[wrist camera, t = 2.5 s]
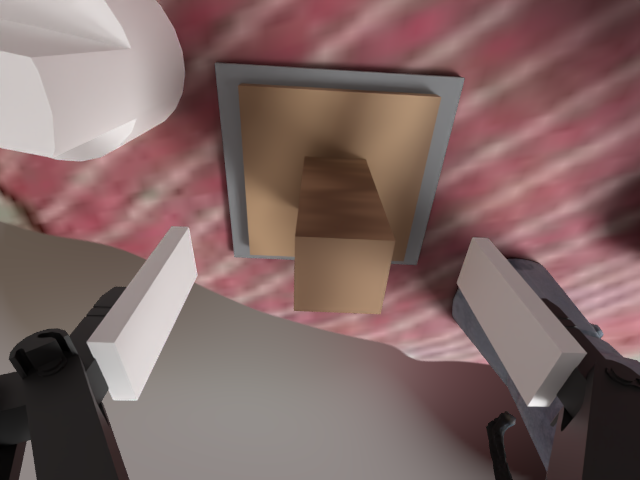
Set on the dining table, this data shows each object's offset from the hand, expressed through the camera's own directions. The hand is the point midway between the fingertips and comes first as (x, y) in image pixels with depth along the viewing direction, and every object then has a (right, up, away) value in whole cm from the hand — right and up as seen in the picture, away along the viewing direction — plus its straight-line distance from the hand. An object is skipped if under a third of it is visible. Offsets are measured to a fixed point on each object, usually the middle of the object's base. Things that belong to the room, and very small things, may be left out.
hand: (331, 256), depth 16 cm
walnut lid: (0, +5, +8) cm, 9 cm away
